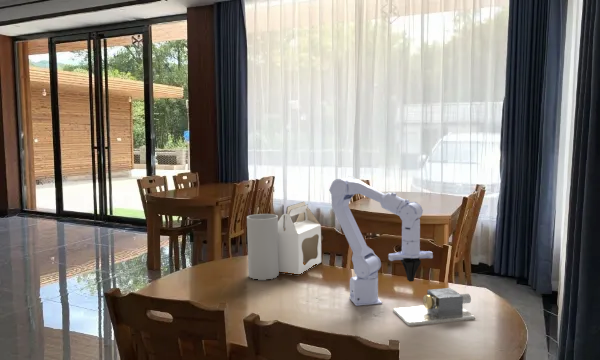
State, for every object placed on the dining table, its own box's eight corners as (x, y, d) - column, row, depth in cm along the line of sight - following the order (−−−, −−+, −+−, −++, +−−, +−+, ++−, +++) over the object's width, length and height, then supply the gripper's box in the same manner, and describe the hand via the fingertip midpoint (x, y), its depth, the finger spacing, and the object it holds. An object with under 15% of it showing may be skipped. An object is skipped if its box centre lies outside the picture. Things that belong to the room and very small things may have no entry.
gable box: (298, 275, 194) (297, 208, 191) (271, 271, 200) (269, 207, 197) (321, 262, 213) (320, 201, 210) (296, 259, 219) (295, 199, 216)
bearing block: (408, 325, 142) (408, 303, 141) (393, 311, 154) (393, 290, 153) (474, 319, 146) (475, 297, 145) (454, 305, 158) (455, 285, 157)
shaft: (429, 311, 147) (429, 297, 147) (423, 306, 151) (423, 293, 151) (472, 307, 150) (472, 293, 149) (464, 302, 154) (464, 289, 154)
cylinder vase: (278, 280, 187) (276, 219, 185) (246, 281, 188) (245, 219, 185) (279, 271, 200) (278, 213, 197) (250, 272, 200) (248, 214, 197)
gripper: (394, 243, 147) (393, 285, 149) (437, 241, 150) (436, 282, 151) (386, 238, 154) (386, 279, 156) (427, 236, 157) (427, 276, 158)
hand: (410, 280), depth 154 cm, fingers closed
